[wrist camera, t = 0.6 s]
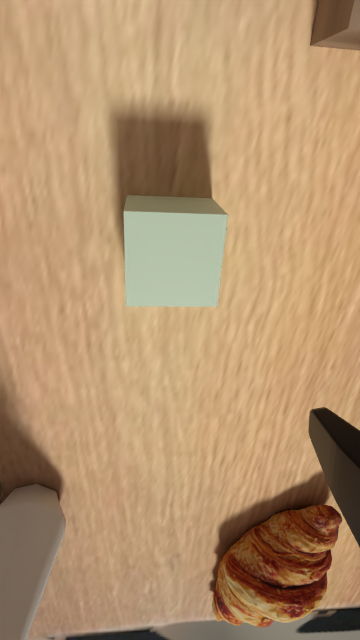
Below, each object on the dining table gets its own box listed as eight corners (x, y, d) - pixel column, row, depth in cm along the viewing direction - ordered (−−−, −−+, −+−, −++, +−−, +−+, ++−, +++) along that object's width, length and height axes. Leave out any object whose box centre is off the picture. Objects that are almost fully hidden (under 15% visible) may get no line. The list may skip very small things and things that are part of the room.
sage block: (211, 197, 19) (227, 214, 15) (204, 276, 21) (217, 306, 17) (126, 194, 18) (123, 211, 15) (128, 275, 20) (125, 306, 17)
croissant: (229, 565, 45) (269, 637, 40) (169, 603, 38) (209, 695, 33) (328, 464, 36) (397, 542, 31) (272, 491, 29) (348, 595, 24)
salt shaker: (20, 467, 27) (-64, 709, 16) (84, 492, 29) (50, 720, 18) (-15, 507, 29) (-115, 752, 17) (47, 528, 31) (-5, 758, 20)
